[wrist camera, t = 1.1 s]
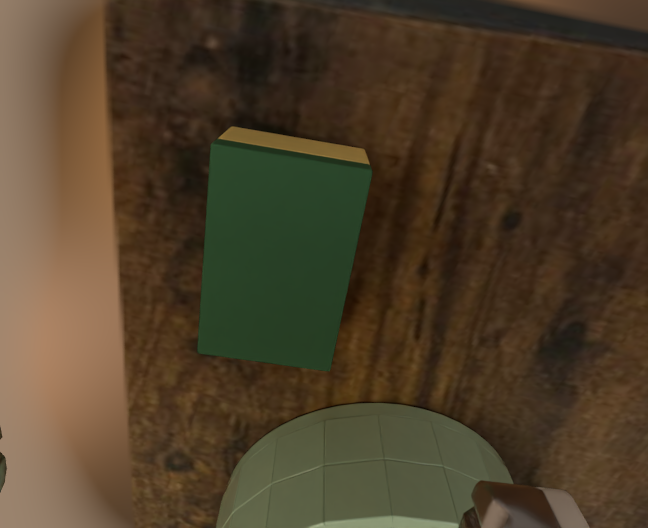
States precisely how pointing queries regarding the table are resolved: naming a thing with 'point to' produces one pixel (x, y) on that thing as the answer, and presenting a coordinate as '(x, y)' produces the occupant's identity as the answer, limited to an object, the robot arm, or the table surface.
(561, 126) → the table surface
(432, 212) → the table surface
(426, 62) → the table surface
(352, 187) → the sponge
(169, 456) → the table surface
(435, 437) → the bowl
